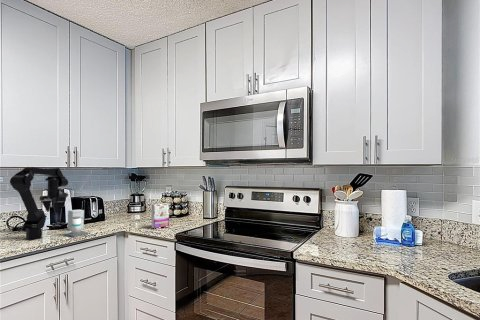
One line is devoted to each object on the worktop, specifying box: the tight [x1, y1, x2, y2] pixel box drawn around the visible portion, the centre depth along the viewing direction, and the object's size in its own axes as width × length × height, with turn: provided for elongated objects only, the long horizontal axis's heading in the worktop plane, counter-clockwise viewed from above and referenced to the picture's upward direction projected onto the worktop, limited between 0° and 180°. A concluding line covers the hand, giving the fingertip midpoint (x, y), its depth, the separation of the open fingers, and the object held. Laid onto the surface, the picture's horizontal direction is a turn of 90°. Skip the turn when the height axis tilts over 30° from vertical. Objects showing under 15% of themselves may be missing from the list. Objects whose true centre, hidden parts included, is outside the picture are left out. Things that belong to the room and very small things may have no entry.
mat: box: [64, 230, 89, 238], centre depth 167 cm, size 9×9×1 cm
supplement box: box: [67, 209, 85, 231], centre depth 184 cm, size 7×7×13 cm
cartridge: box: [71, 216, 82, 234], centre depth 167 cm, size 5×5×10 cm
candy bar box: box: [151, 203, 170, 229], centre depth 189 cm, size 11×5×16 cm, turn 129°
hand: (52, 212), depth 172 cm, fingers open, 9 cm apart
